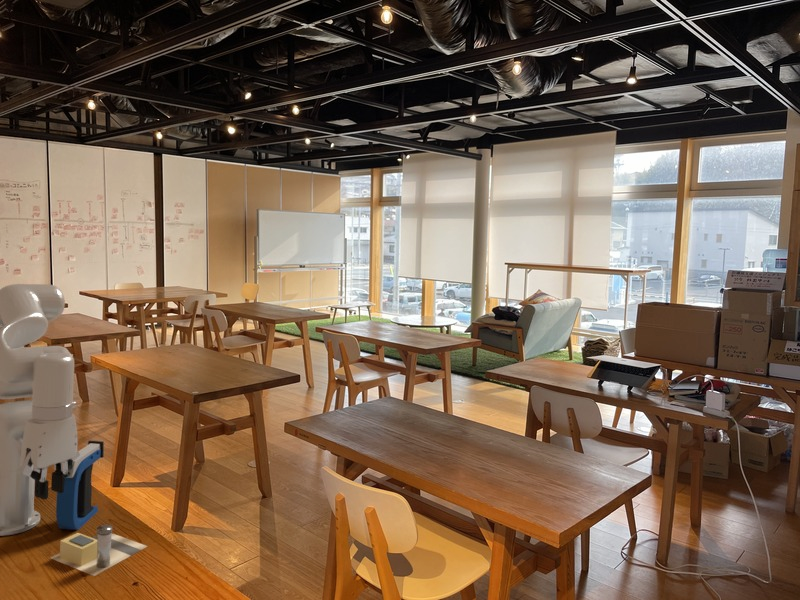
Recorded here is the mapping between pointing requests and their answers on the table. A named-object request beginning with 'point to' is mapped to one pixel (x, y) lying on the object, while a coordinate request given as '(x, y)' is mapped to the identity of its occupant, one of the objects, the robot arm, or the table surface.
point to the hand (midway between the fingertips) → (49, 493)
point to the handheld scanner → (78, 489)
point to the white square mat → (119, 552)
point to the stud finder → (78, 549)
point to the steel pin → (104, 546)
